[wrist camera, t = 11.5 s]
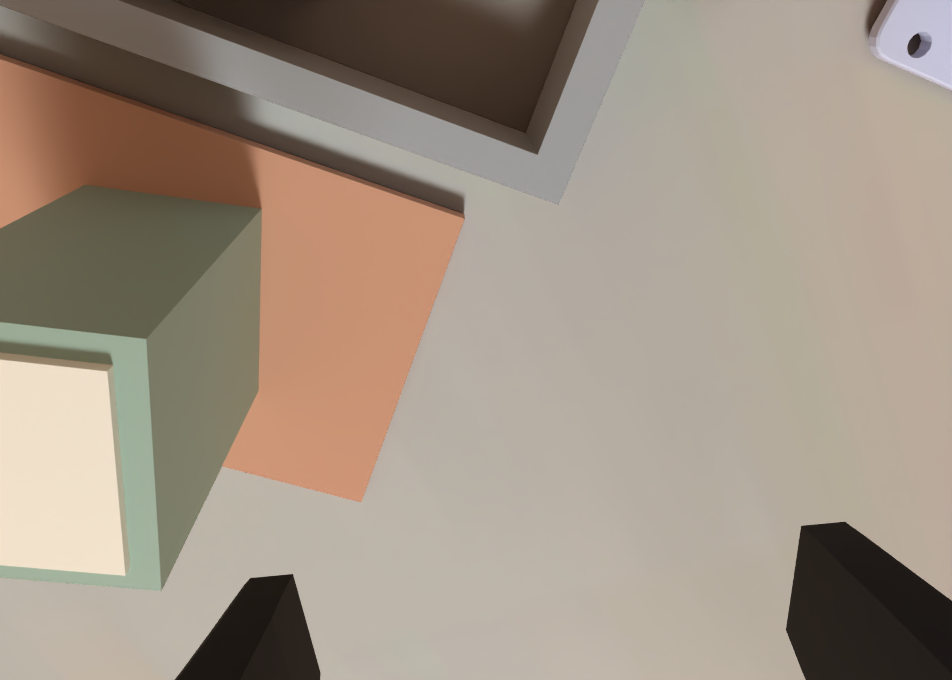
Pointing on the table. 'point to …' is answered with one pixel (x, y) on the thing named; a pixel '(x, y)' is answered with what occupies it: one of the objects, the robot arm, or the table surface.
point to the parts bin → (378, 84)
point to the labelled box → (120, 378)
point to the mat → (282, 261)
